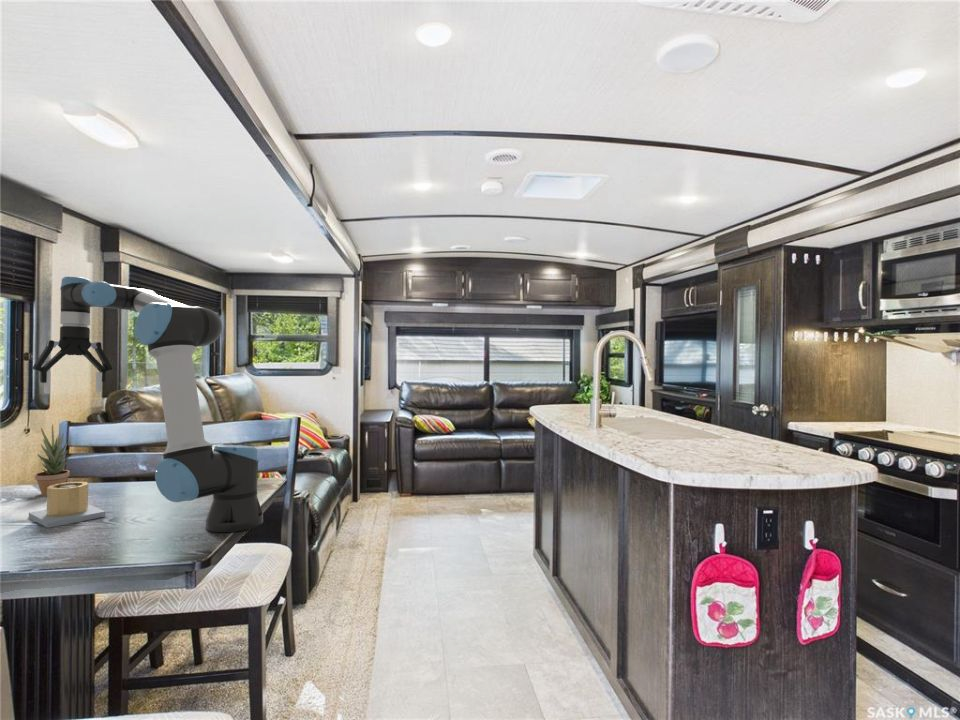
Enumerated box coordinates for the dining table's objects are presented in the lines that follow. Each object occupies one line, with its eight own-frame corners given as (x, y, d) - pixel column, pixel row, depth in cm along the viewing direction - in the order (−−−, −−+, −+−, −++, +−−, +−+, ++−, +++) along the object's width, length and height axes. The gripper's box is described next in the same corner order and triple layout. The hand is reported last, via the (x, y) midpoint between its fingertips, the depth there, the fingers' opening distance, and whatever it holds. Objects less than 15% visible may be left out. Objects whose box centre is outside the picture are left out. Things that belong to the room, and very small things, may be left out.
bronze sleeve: (92, 511, 157) (92, 484, 157) (53, 518, 150) (54, 490, 150) (80, 505, 163) (80, 480, 163) (42, 512, 155) (43, 485, 155)
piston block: (105, 516, 157) (105, 486, 157) (47, 527, 146) (48, 495, 146) (84, 507, 166) (85, 478, 166) (28, 517, 155) (29, 487, 155)
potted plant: (28, 494, 180) (29, 423, 181) (59, 488, 189) (60, 421, 189) (45, 498, 177) (47, 425, 177) (76, 492, 185) (77, 422, 185)
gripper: (115, 329, 178) (113, 390, 178) (20, 323, 157) (19, 393, 157) (124, 328, 174) (123, 391, 174) (28, 322, 153) (27, 394, 153)
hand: (73, 392), depth 165 cm, fingers open, 13 cm apart
